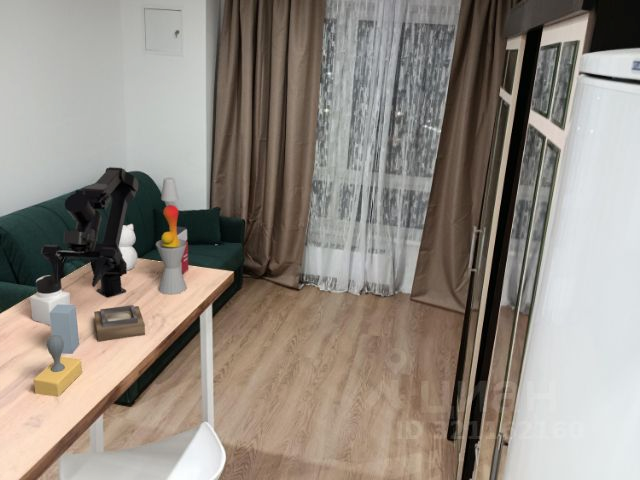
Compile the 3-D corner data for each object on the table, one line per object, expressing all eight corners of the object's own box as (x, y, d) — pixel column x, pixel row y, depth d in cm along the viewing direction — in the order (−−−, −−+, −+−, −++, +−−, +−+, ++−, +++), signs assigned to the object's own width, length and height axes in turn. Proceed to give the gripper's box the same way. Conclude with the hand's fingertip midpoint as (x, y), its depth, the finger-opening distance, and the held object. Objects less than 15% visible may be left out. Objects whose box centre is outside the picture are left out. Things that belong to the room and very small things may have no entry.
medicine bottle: (72, 316, 164) (68, 276, 160) (51, 326, 158) (46, 285, 154) (53, 310, 167) (49, 270, 163) (32, 320, 161) (27, 279, 157)
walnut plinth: (95, 321, 162) (93, 307, 161) (139, 315, 167) (138, 302, 165) (98, 341, 152) (97, 327, 151) (145, 334, 157) (144, 320, 155)
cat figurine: (142, 262, 203) (139, 220, 198) (130, 276, 192) (127, 232, 186) (115, 260, 203) (112, 219, 198) (102, 275, 191) (99, 231, 186)
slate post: (61, 343, 150) (57, 304, 147) (79, 344, 150) (75, 305, 147) (54, 353, 146) (49, 312, 142) (72, 353, 146) (68, 313, 142)
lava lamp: (170, 280, 190) (166, 173, 178) (193, 286, 187) (191, 177, 175) (151, 290, 182) (146, 179, 171) (175, 297, 179) (171, 183, 167)
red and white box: (175, 282, 189) (174, 238, 184) (163, 280, 190) (161, 236, 185) (189, 269, 199) (188, 227, 194) (177, 268, 200) (176, 225, 195)
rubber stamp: (60, 369, 139) (54, 323, 135) (83, 372, 139) (78, 326, 135) (34, 393, 130) (28, 345, 126) (59, 397, 129) (53, 348, 125)
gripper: (39, 214, 150) (24, 272, 144) (114, 218, 151) (102, 275, 144) (55, 234, 160) (42, 288, 154) (125, 237, 161) (115, 291, 154)
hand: (74, 285), depth 151 cm, fingers open, 9 cm apart
